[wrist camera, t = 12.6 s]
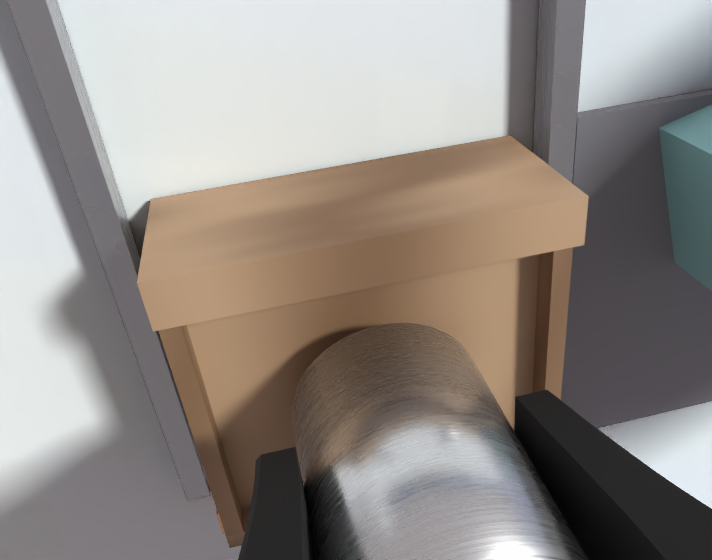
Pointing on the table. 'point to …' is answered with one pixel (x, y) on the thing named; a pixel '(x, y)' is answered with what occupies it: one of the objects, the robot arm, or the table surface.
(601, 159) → the mat
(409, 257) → the brown wooden tray
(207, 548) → the table surface
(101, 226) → the track
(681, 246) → the part
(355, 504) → the part
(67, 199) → the table surface
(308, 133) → the table surface
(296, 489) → the robot arm
